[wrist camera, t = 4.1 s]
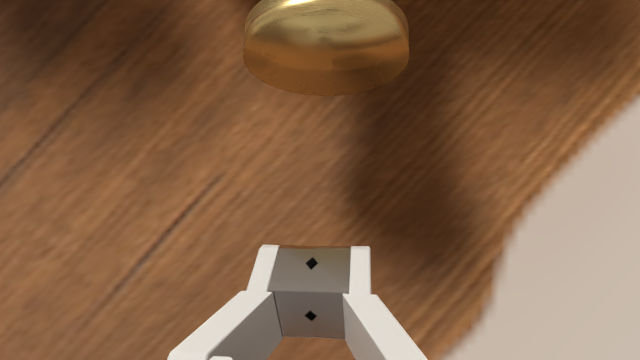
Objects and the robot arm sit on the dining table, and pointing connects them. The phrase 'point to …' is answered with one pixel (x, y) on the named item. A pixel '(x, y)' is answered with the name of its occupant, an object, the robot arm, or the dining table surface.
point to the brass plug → (326, 44)
